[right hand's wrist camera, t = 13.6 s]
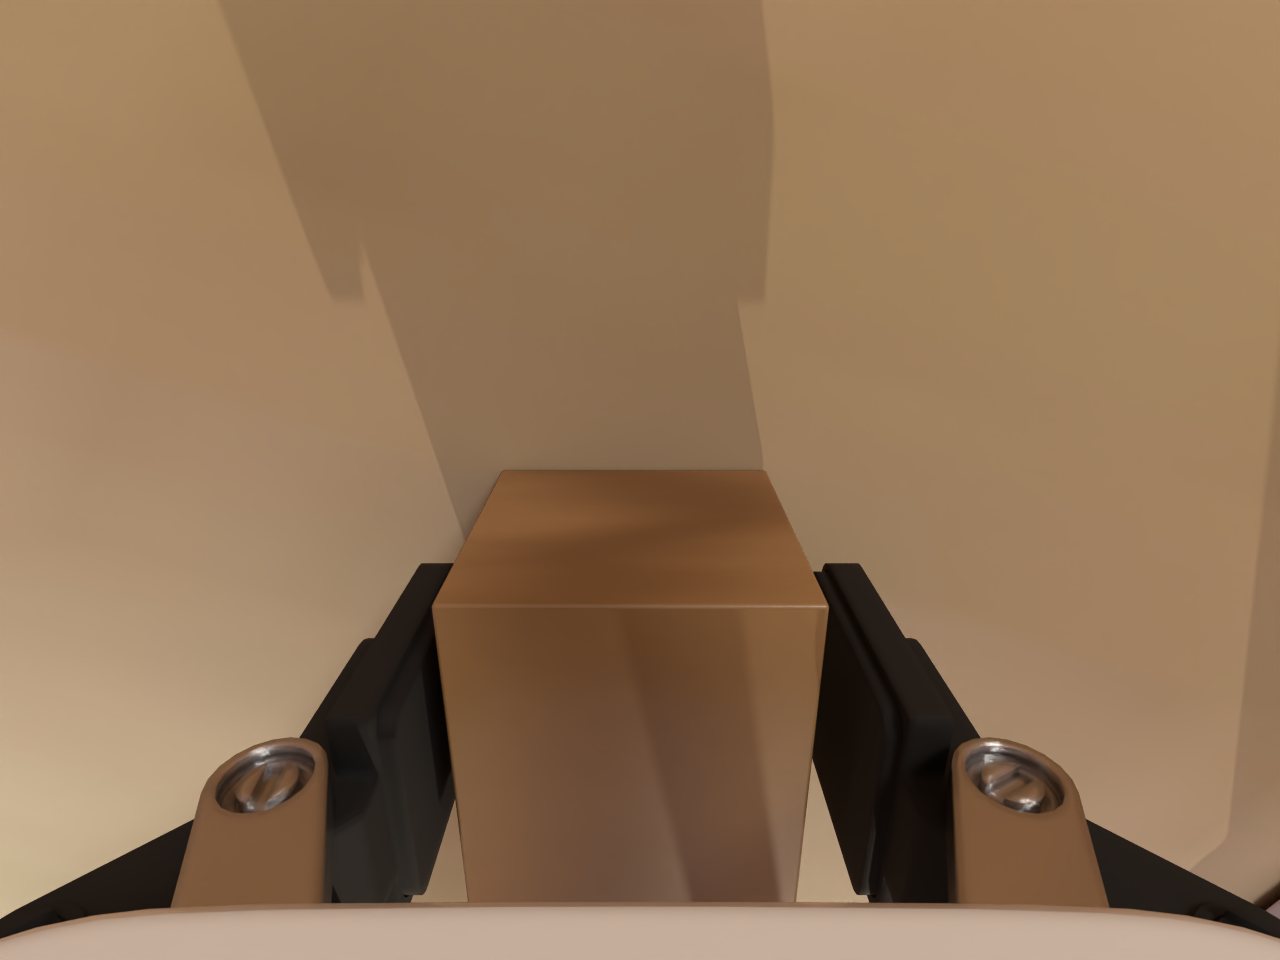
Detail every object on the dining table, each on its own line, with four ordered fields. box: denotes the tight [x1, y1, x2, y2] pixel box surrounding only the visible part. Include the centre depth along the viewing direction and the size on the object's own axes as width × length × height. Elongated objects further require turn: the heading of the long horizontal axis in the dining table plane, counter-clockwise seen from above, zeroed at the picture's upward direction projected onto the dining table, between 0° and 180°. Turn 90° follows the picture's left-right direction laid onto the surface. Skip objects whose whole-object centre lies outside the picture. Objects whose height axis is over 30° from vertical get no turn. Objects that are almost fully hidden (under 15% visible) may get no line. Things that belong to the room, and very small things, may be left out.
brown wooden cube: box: [432, 470, 829, 902], centre depth 11 cm, size 5×5×5 cm
